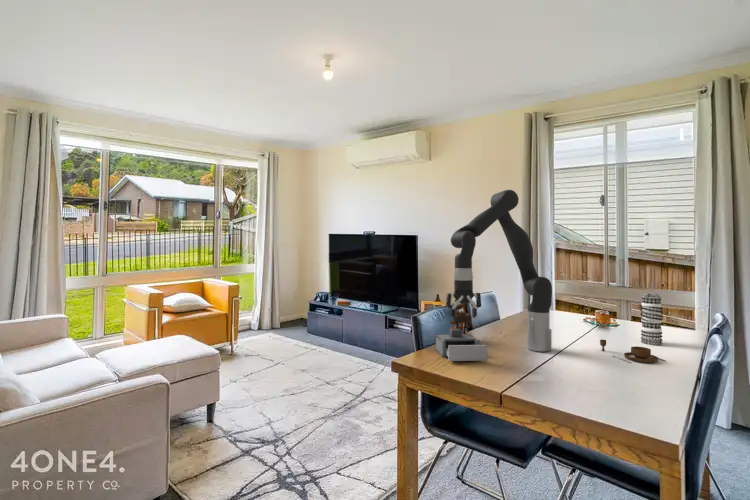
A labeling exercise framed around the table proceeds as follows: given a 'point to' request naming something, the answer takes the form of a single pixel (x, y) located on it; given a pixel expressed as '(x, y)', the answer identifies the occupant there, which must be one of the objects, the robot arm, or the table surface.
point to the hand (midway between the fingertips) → (463, 317)
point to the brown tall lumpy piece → (461, 318)
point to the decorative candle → (651, 319)
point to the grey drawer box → (453, 340)
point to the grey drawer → (466, 352)
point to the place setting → (637, 354)
